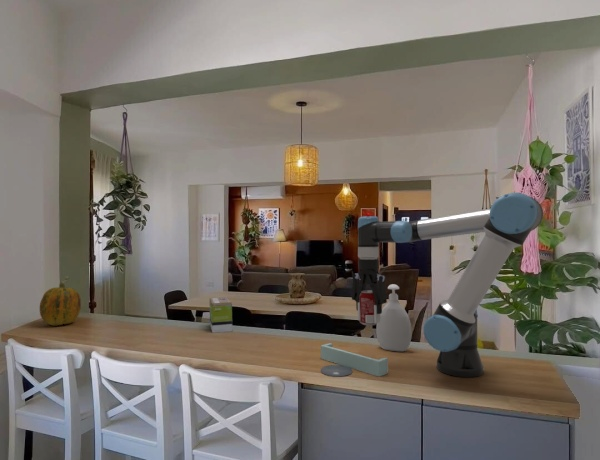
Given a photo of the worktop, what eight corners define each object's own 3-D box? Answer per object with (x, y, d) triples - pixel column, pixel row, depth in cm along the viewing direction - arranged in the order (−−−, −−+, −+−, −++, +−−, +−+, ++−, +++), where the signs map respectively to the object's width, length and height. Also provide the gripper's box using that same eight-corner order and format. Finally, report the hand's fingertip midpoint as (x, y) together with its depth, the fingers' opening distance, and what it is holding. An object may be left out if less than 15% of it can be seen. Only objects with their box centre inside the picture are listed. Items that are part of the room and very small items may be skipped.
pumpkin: (76, 319, 227) (76, 274, 227) (84, 325, 212) (84, 277, 213) (37, 324, 215) (37, 277, 215) (42, 330, 200) (42, 280, 201)
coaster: (358, 371, 140) (358, 370, 140) (337, 379, 133) (337, 378, 133) (335, 364, 148) (335, 362, 148) (314, 371, 141) (314, 369, 141)
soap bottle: (414, 349, 167) (413, 283, 167) (409, 354, 160) (409, 286, 160) (379, 344, 174) (379, 282, 174) (374, 349, 166) (373, 284, 167)
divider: (387, 373, 138) (387, 358, 138) (379, 376, 135) (379, 361, 135) (329, 355, 158) (329, 343, 158) (320, 358, 155) (320, 345, 155)
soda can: (378, 326, 144) (377, 292, 144) (359, 325, 146) (358, 292, 146) (378, 322, 151) (378, 290, 151) (360, 321, 152) (359, 289, 152)
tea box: (209, 326, 209) (209, 297, 209) (228, 325, 212) (228, 296, 212) (211, 333, 195) (211, 302, 195) (232, 331, 198) (232, 301, 198)
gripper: (397, 259, 144) (397, 323, 144) (353, 257, 158) (354, 315, 158) (384, 260, 139) (385, 327, 139) (341, 257, 153) (341, 318, 153)
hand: (368, 321), depth 148 cm, fingers closed on soda can, 7 cm apart
